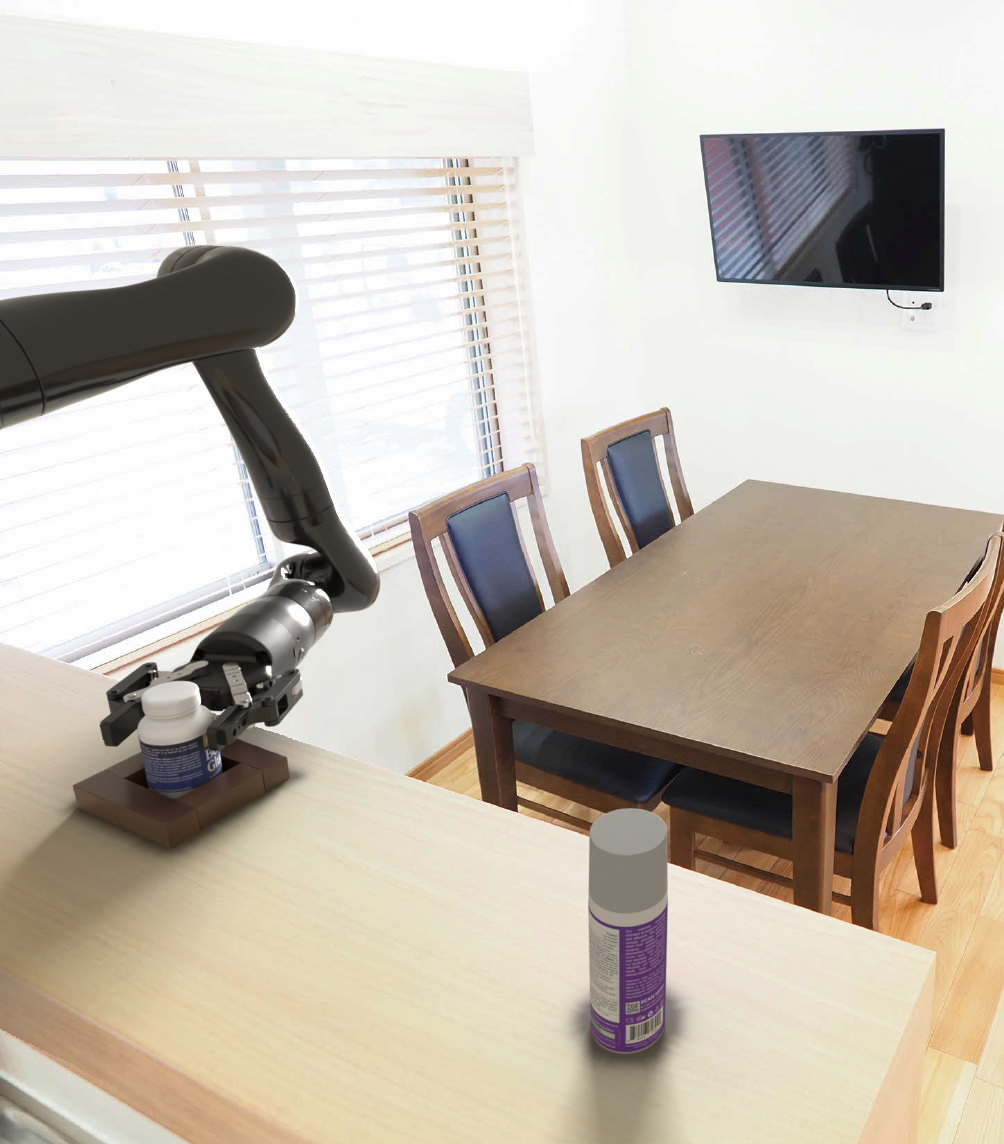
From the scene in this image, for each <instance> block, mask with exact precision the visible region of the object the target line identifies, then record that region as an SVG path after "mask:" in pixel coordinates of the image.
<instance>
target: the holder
mask: <svg viewBox="0 0 1004 1144" xmlns="http://www.w3.org/2000/svg"><path fill="white" fill-rule="evenodd" d="M220 757H221V763H222V769H223V773H222V774H220V775H219V776H217V777H215V778H213V779H211V780H210V781H208V782H206V783H204V784H202V785H201V786H199V787H197V788H195V789H193V790H192V791H190V792H188V793H186V794H184V795H183V796H181V797H179V798H177V799H176V800H174V799H171V798H169V797H167V796H164V795H162V794H159V793H157V792H154V791H152V790H150V789H149V786H148V781H147V776H146V772H145V766H144V762H143V756H142V752H141V751H140V752H138V753H136V754H133V755H132V756H130V757H127V758H125V759H124V760H122V761H120V762H117V763H115V764H113V765H112V766H109V767H107V768H105V769H103V770H100V771H99V772H97V773H95V774H93V775H90V776H89V777H87V778H84V779H82V780H81V781H78V782H77V783H75V784H72V789H73V793H74V797H75V802H76V806H77V808H78V809H80V810H81V811H84V812H86V813H89V814H91V815H92V816H93V815H94V816H96V817H98V818H101V819H102V820H104V821H107V822H109V823H111V824H114V825H116V826H117V827H118V826H119V827H120V828H123V829H124V830H128V831H130V832H132V833H134V834H137V835H139V836H141V837H143V838H145V839H148V840H150V841H153V842H155V843H157V844H159V845H162V846H164V847H166V848H168V849H170V850H171V849H173V848H175V847H177V846H178V845H180V844H182V843H184V842H185V841H187V840H188V839H190V838H192V837H193V836H195V835H197V834H198V833H200V832H202V831H203V830H205V829H206V828H208V827H211V826H212V825H213V824H215V823H217V822H219V821H220V820H222V819H223V818H225V817H227V816H229V815H230V814H232V813H233V812H235V811H237V810H239V809H240V808H242V807H244V806H246V805H247V804H248V803H250V802H252V801H254V800H255V799H257V798H259V797H260V796H262V795H264V794H265V793H267V792H269V791H270V790H272V789H274V788H275V787H277V786H278V785H280V784H282V783H284V782H285V781H287V780H288V779H290V778H291V775H290V769H289V762H288V756H286V755H284V754H281V753H278V752H275V751H273V750H270V749H267V748H265V747H261V746H259V745H256V744H253V743H251V742H248V741H245V740H242V739H239V738H237V739H236V740H235V741H234V742H233V743H231V744H230V745H226V746H225V747H224V748H223V749H222V750H221V751H220Z"/></svg>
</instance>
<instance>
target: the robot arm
mask: <svg viewBox="0 0 1004 1144" xmlns="http://www.w3.org/2000/svg"><path fill="white" fill-rule="evenodd" d="M298 307H299V294H298V289H297V286H296V284H295V281H294V280H293V278H292V276H291V275H290V273H289V272H288V271H287V270H286V268H284V267H283V266H282V265H281V264H280V263H279V262H278V261H276V260H275V259H273V258H271V257H270V256H268V255H266V254H264V253H261V252H259V251H257V250H254V249H250V248H248V247H244V246H233V245H212V244H195V245H186V246H183V247H179V248H177V249H174V250H173V251H172V252H171V253H169V254H167V256H166V257H165V258H164V260H162V262H161V264H160V266H159V268H158V270H157V273H156V277H154V278H152V279H148V280H145V281H140V282H136V283H132V284H128V285H122V286H115V287H108V288H107V287H106V288H97V289H96V288H95V289H83V290H69V291H58V292H47V293H39V294H31V295H24V296H16V297H9V298H4V299H0V431H1V430H4V429H7V428H11V427H13V426H16V425H19V424H23V423H25V422H28V421H31V420H34V419H37V418H40V417H43V416H45V415H49V414H51V413H53V412H57V411H59V410H61V409H64V408H66V407H70V406H72V405H75V404H78V403H80V402H83V401H86V400H88V399H91V398H95V397H97V396H100V395H102V394H105V393H109V392H111V391H113V390H116V389H118V388H121V387H124V386H127V385H129V384H131V383H133V382H136V381H138V380H140V379H143V378H146V377H148V376H151V375H154V374H157V373H158V372H161V371H165V370H167V369H171V368H174V367H179V366H182V365H185V364H186V365H187V364H190V363H191V364H192V365H193V366H194V368H195V370H196V372H197V374H198V375H199V377H200V379H201V381H202V382H203V385H204V386H205V388H206V389H207V391H208V394H209V395H210V398H211V399H212V400H213V402H214V404H215V407H216V408H217V410H218V411H219V414H220V416H221V418H222V419H223V421H224V423H225V425H226V427H227V429H228V431H229V433H230V436H231V437H232V439H233V441H234V443H235V445H236V448H237V450H238V452H239V454H240V456H241V459H242V461H243V464H244V466H245V468H246V471H247V473H248V476H249V477H250V481H251V483H252V485H253V489H254V491H255V494H256V496H257V499H258V502H259V504H260V506H261V509H262V513H263V515H264V517H265V520H266V522H267V525H268V527H269V529H270V531H271V533H272V534H273V536H274V537H275V538H276V539H277V540H278V541H280V542H283V543H286V544H292V545H298V546H302V547H307V548H310V549H313V550H315V551H311V552H310V551H309V552H301V553H297V554H293V555H291V556H288V557H287V558H284V559H282V560H281V561H280V562H279V563H278V564H277V566H276V567H275V570H274V572H273V575H272V577H271V580H270V581H269V584H268V586H267V589H266V590H265V591H264V592H263V593H262V594H261V595H260V596H258V597H257V598H255V600H253V601H252V602H250V603H248V604H246V605H244V606H243V607H241V608H240V609H238V610H237V611H236V612H234V613H233V614H232V615H230V616H229V617H228V618H227V619H226V620H224V622H222V623H221V624H220V625H219V626H217V627H216V628H215V629H214V630H213V631H211V632H210V633H209V634H208V635H206V636H205V637H204V638H203V639H202V640H201V641H200V642H199V643H198V645H197V646H196V648H195V650H194V652H193V654H192V656H191V658H190V660H189V661H188V662H187V663H185V664H183V665H180V666H177V667H176V668H174V669H173V670H172V671H168V670H159V668H158V664H157V663H156V662H154V661H149V662H145V663H143V664H141V665H140V666H138V667H137V668H136V669H135V670H134V671H132V672H131V673H129V674H128V675H126V676H125V677H123V679H121V680H120V681H119V682H117V683H116V684H114V685H113V686H112V687H110V688H109V689H108V690H107V691H106V692H105V694H106V699H107V705H108V708H109V712H110V713H109V714H108V715H107V716H106V717H105V718H103V719H102V720H100V723H99V728H100V733H101V738H102V741H103V743H104V746H105V747H116V748H117V747H119V745H121V744H122V743H123V742H124V741H125V740H127V739H128V738H129V737H130V736H131V735H132V734H134V732H136V731H137V728H138V724H139V722H140V721H141V719H142V718H143V717H144V716H146V715H145V714H144V711H143V706H142V700H141V697H142V694H143V693H144V692H145V691H146V690H148V689H150V688H152V687H154V686H156V685H159V684H163V683H167V682H174V681H188V682H192V683H194V684H196V685H197V686H198V688H199V693H200V697H201V704H200V705H203V706H205V707H207V708H208V709H209V710H210V711H211V712H221V713H220V714H219V715H218V716H217V717H216V718H215V719H214V721H213V722H212V723H211V724H210V725H209V726H208V728H207V731H206V735H207V741H208V746H209V750H210V751H221V750H222V749H223V748H224V747H225V746H226V745H230V744H231V743H233V742H234V741H235V740H236V739H239V737H240V736H241V735H242V734H243V733H244V732H245V731H247V730H251V729H253V728H255V727H256V724H260V723H261V724H262V723H264V726H265V727H268V728H272V727H276V726H278V725H279V724H281V723H282V721H283V720H284V719H285V718H286V717H287V715H288V714H289V713H290V712H291V711H292V709H293V708H294V707H295V706H296V705H297V704H298V702H299V701H300V700H301V699H302V697H303V696H304V690H303V681H302V675H301V670H300V669H299V668H297V667H298V666H299V665H300V664H301V663H302V662H303V660H304V659H305V658H306V656H307V654H308V652H309V651H310V650H311V649H312V648H313V646H314V645H315V644H316V643H318V641H319V640H320V639H321V638H322V637H323V636H324V635H325V634H326V632H327V631H328V629H329V628H330V627H331V625H332V621H333V619H334V614H345V613H355V612H361V611H364V610H367V609H368V608H370V607H371V606H372V605H374V603H375V602H376V600H377V599H378V597H379V594H380V589H381V577H380V572H379V569H378V566H377V563H376V561H375V559H374V557H373V556H372V553H370V551H369V549H368V548H367V547H366V545H365V544H364V543H363V541H362V540H361V539H360V537H359V536H358V535H357V533H356V532H355V531H354V529H353V527H352V526H351V525H350V523H349V522H348V520H347V518H346V517H345V516H344V514H343V513H342V511H341V510H340V508H339V505H338V503H337V500H336V497H335V496H336V495H335V493H334V490H333V488H332V485H331V482H330V479H329V476H328V474H327V470H326V468H325V466H324V463H323V460H322V459H321V456H320V455H319V452H318V450H317V448H316V447H315V445H314V443H313V441H312V440H311V438H310V436H309V435H308V433H307V432H306V430H305V429H304V427H303V426H302V425H301V424H300V422H299V420H298V419H297V418H296V417H295V415H294V414H293V412H292V411H291V409H290V408H289V407H288V405H287V404H286V402H285V401H284V399H283V397H282V396H281V395H280V393H279V391H278V389H277V388H276V386H275V384H274V382H273V380H272V379H271V377H270V375H269V372H268V370H267V368H266V366H265V364H264V361H263V358H262V355H261V352H260V350H259V349H260V348H263V347H266V346H268V345H270V344H272V343H273V342H275V341H277V340H278V339H280V338H281V337H282V336H283V335H284V334H285V333H287V331H288V330H289V328H290V327H291V326H292V324H293V322H294V320H295V318H296V314H297V311H298Z"/></svg>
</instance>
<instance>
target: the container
mask: <svg viewBox="0 0 1004 1144" xmlns="http://www.w3.org/2000/svg"><path fill="white" fill-rule="evenodd" d="M588 842H589V844H588V845H589V846H588V853H589V854H588V899H587V900H588V901H587V902H588V903H587V904H588V905H587V906H588V907H587V909H588V911H587V912H588V913H587V915H588V960H589V961H588V963H589V964H588V965H589V969H588V971H589V1019H590V1021H589V1023H590V1024H589V1025H590V1033H591V1035H592V1038H593V1039H594V1041H595V1043H597V1045H599V1047H601V1048H603V1049H604V1050H606V1051H607V1052H611V1053H615V1054H619V1055H620V1054H621V1055H628V1054H629V1055H631V1054H635V1053H639V1052H642V1051H645V1050H647V1049H648V1048H650V1047H651V1046H653V1045H654V1044H656V1043H657V1042H658V1041H659V1039H660V1038H661V1036H662V1035H663V1032H664V1031H665V1026H666V1002H667V1001H666V1000H667V961H668V960H667V957H668V955H667V954H668V920H669V919H668V915H669V914H668V912H669V911H668V910H669V894H668V893H669V889H668V888H669V887H668V886H669V885H668V884H669V883H668V881H669V880H668V879H669V877H668V875H669V874H668V827H667V824H666V822H665V821H664V820H663V819H662V818H661V817H660V816H659V815H657V814H656V813H653V812H652V811H649V810H646V809H641V808H629V807H628V808H620V809H615V810H612V811H608V812H607V813H604V814H603V815H601V816H599V817H598V818H597V819H596V820H595V821H594V822H593V823H592V825H590V829H589V840H588Z"/></svg>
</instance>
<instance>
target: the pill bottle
mask: <svg viewBox="0 0 1004 1144" xmlns="http://www.w3.org/2000/svg"><path fill="white" fill-rule="evenodd" d="M141 700H142V706H143V711H144V714H145V715H146V716H144V717H143V718H142V719H141V721H140V722H139V724H138V728H137V730H136V731H137V737H138V742H139V747H140V750H141V751H140V752H142V756H143V762H144V766H145V772H146V776H147V781H148V786H149V789H150V790H152V791H154V792H157V793H159V794H162V795H164V796H167V797H169V798H171V799H174V800H176V799H177V798H179V797H181V796H183V795H184V794H186V793H188V792H190V791H192V790H193V789H195V788H197V787H199V786H201V785H202V784H204V783H206V782H208V781H210V780H211V779H213V778H215V777H217V776H219V775H220V774H222V773H223V769H222V763H221V757H220V751H210V750H209V746H208V741H207V735H206V731H207V728H208V726H209V725H210V724H211V723H212V722H213V721H214V720H215V719H214V715H213V712H212V711H210V710H209V709H208V708H207V707H205V706H203V705H200V704H201V697H200V693H199V688H198V686H197V685H196V684H194V683H192V682H188V681H174V682H167V683H163V684H159V685H156V686H154V687H152V688H150V689H148V690H146V691H145V692H144V693H143V694H142V697H141Z"/></svg>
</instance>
